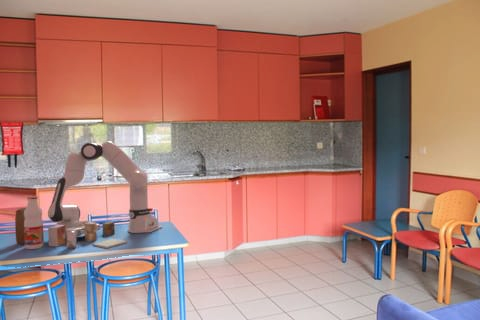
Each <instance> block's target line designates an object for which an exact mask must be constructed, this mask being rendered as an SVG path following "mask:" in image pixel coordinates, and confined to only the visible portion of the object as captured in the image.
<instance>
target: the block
mask: <svg viewBox="0 0 480 320" xmlns="http://www.w3.org/2000/svg"><path fill="white" fill-rule="evenodd" d="M25 209H26V207H20V208H18V209H17V210H16V211H15V218H14V219H15V220H14V222H15V223H14V226H15V241H16V242H15V243H16V244H17V245H23V246H24V245H25V239H24V220H25V217H24V210H25Z"/></svg>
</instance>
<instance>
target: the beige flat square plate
mask: <svg viewBox="0 0 480 320" xmlns="http://www.w3.org/2000/svg"><path fill="white" fill-rule="evenodd" d="M127 243H128V240H123V239H118V238H109V239H107V240H102V241H99V242H95V243H92V246H93V247H97V248H102V249H107V250H108V249H111V248H114V247H117V246H122V245H125V244H127Z"/></svg>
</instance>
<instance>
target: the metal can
mask: <svg viewBox="0 0 480 320" xmlns="http://www.w3.org/2000/svg"><path fill="white" fill-rule="evenodd" d="M77 248H78V247H77V236H76V231H67V232H66V249H67V250H75V249H77Z"/></svg>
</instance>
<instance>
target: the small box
mask: <svg viewBox="0 0 480 320" xmlns="http://www.w3.org/2000/svg"><path fill="white" fill-rule="evenodd" d="M47 231H48V247H60V246H62V245H64V244H67V239H66V227H65V225H52V226H50V227H48V228H47Z"/></svg>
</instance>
